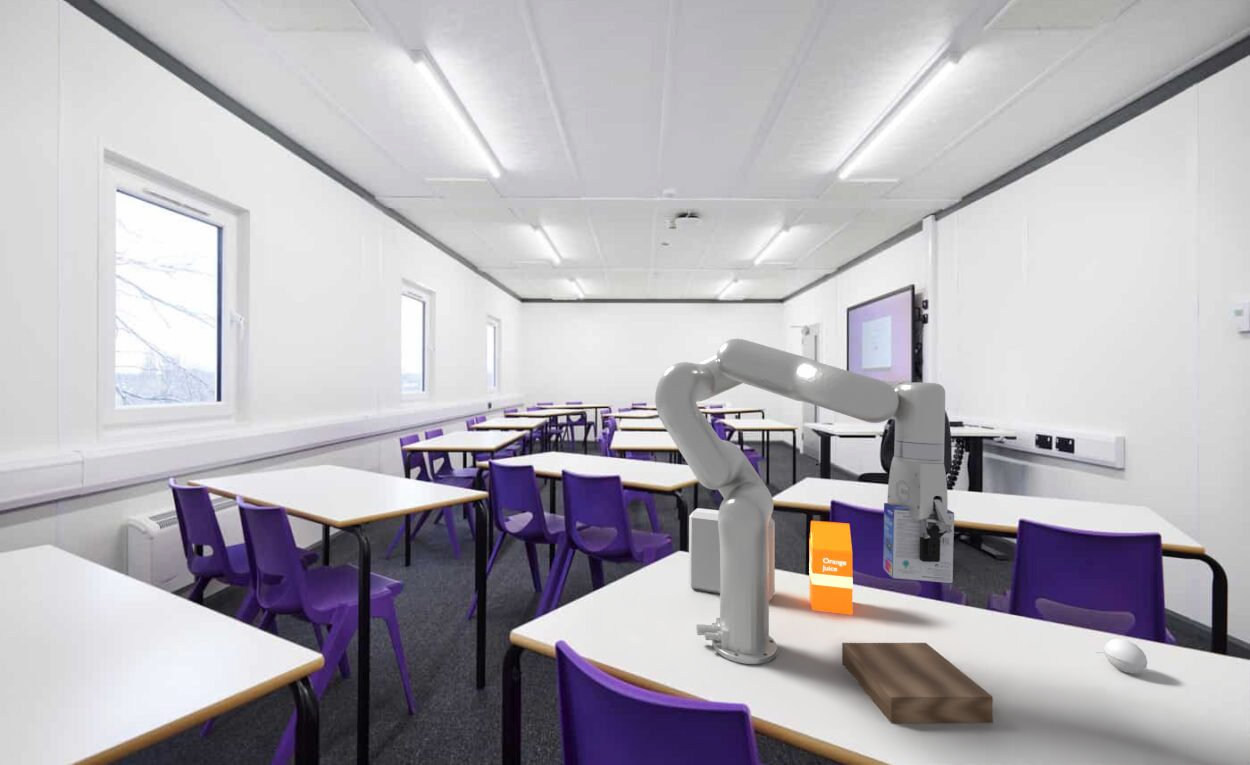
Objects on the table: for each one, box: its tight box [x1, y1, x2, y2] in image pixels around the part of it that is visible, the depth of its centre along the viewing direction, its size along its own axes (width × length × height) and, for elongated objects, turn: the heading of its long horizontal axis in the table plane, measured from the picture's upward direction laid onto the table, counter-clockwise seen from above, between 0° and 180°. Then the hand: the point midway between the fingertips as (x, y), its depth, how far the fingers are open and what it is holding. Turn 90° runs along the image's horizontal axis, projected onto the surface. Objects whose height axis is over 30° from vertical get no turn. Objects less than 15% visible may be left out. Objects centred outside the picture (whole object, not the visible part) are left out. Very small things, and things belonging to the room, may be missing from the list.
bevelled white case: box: [688, 507, 776, 602], centre depth 123 cm, size 21×8×20 cm, turn 66°
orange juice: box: [808, 520, 854, 616], centre depth 115 cm, size 8×9×20 cm
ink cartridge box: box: [882, 502, 955, 584], centre depth 84 cm, size 10×6×14 cm, turn 81°
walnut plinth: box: [841, 642, 994, 724], centre depth 82 cm, size 16×16×4 cm
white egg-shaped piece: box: [1096, 638, 1148, 674], centre depth 89 cm, size 8×6×6 cm
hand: (916, 553), depth 84 cm, fingers closed on ink cartridge box, 6 cm apart
